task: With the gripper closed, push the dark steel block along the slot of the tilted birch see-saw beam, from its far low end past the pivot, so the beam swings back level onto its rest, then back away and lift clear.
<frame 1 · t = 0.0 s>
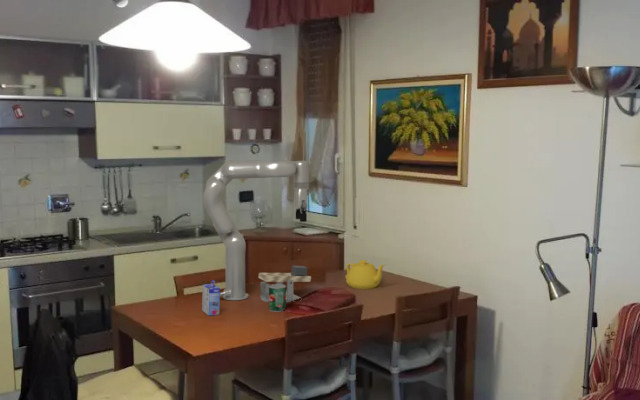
hand: (300, 220, 323), 37 cm above the table, tool pointing down, fingers open, 9 cm apart
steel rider: (298, 276, 322), point 10 cm above the table, tilted 6°, touching balance beam
ink cartridge box: (211, 313, 293), on the table
canned tomato: (277, 309, 299), on the table
teapot: (364, 286, 345), on the table
beam stand: (284, 297, 319), on the table
balance beam: (285, 277, 318), point 10 cm above the table, hinge at 6.1°, touching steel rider
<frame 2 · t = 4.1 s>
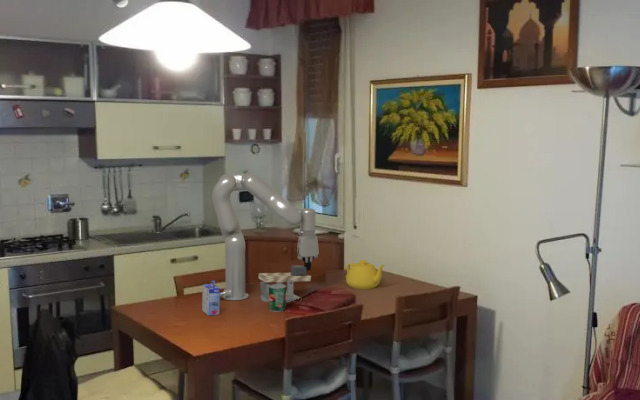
hand: (307, 269, 324), 13 cm above the table, tool pointing down, fingers closed
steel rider: (298, 276, 322), point 10 cm above the table, touching balance beam, gripper
balance beam: (284, 277, 318), point 10 cm above the table, hinge at 4.7°, touching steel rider
everything else where it was.
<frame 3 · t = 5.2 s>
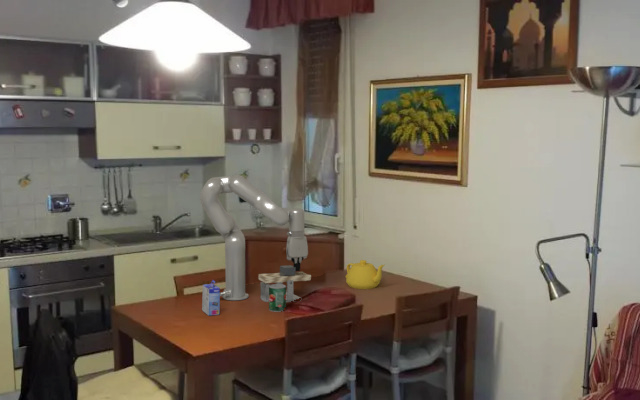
hand: (296, 270, 321), 13 cm above the table, tool pointing down, fingers closed
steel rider: (287, 276, 319), point 10 cm above the table, touching balance beam, gripper
balance beam: (284, 277, 318), point 10 cm above the table, hinge at 2.7°, touching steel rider
everything else where it was.
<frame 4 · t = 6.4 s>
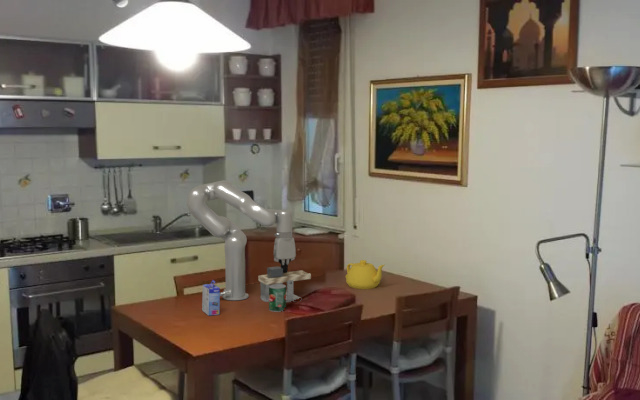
hand: (284, 272, 318), 13 cm above the table, tool pointing down, fingers closed
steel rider: (275, 278, 315), point 10 cm above the table, touching balance beam
balance beam: (284, 277, 318), point 10 cm above the table, hinge at -0.6°, touching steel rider
everything else where it was.
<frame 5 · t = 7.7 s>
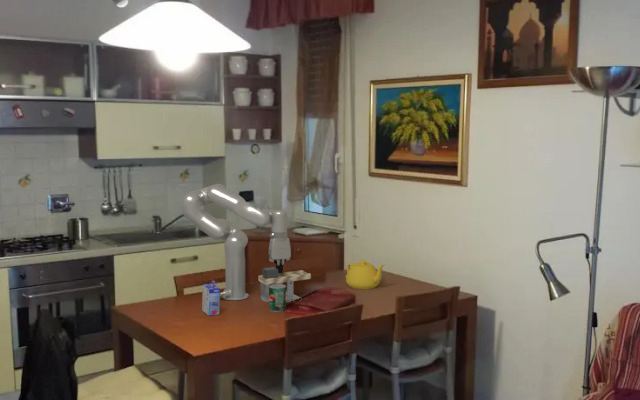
hand: (279, 272, 317), 13 cm above the table, tool pointing down, fingers closed
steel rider: (270, 278, 314), point 10 cm above the table, touching balance beam, gripper
everything else where it was.
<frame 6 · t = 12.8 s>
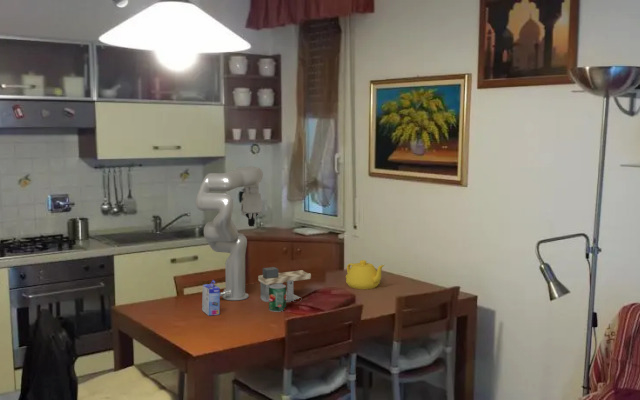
hand: (251, 226, 337), 32 cm above the table, tool pointing down, fingers closed
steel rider: (270, 278, 314), point 10 cm above the table, touching balance beam
everything else where it was.
at the end: balance beam at -1° (first picture: +6°); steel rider inside the target area on the balance beam (1.3 cm from its centre), point 1.4 cm above the balance beam's base; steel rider tilted 1° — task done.
